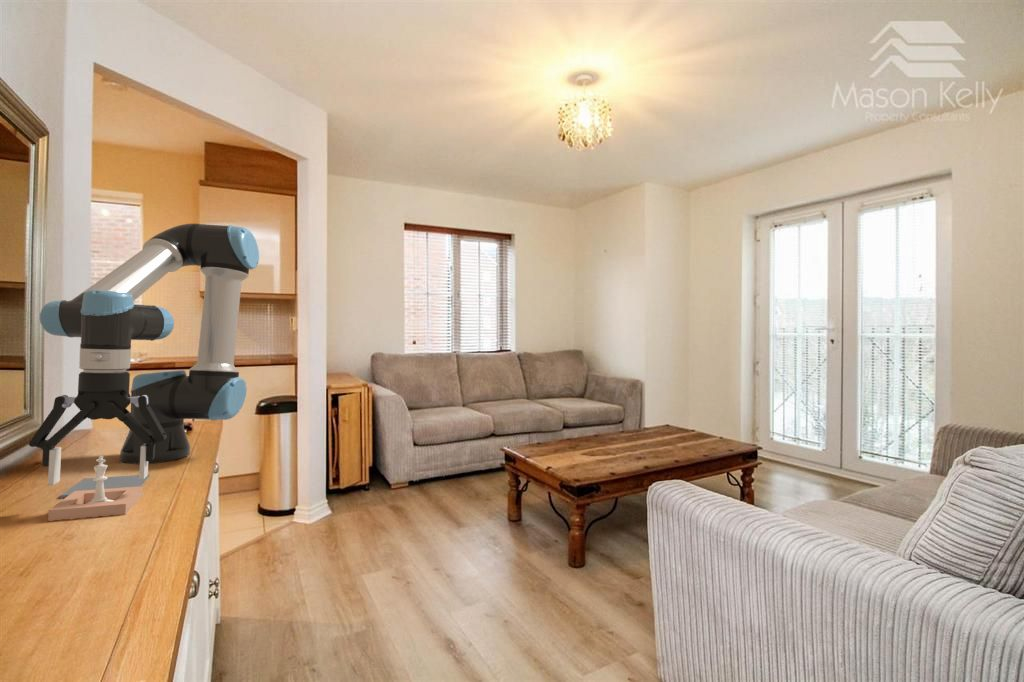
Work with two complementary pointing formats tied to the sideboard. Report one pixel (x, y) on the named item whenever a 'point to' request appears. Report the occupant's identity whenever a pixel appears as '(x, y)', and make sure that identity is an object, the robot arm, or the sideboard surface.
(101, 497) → the chess piece
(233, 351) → the robot arm
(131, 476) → the mat
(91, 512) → the pocket holder
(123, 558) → the sideboard surface
